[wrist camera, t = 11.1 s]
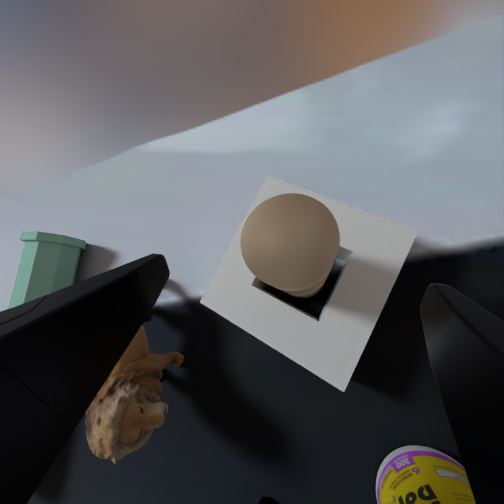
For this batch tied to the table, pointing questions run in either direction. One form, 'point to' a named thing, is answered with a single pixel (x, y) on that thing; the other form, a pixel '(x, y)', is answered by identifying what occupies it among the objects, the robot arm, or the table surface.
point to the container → (45, 265)
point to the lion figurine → (129, 401)
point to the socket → (338, 303)
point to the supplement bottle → (422, 478)
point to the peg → (291, 243)
